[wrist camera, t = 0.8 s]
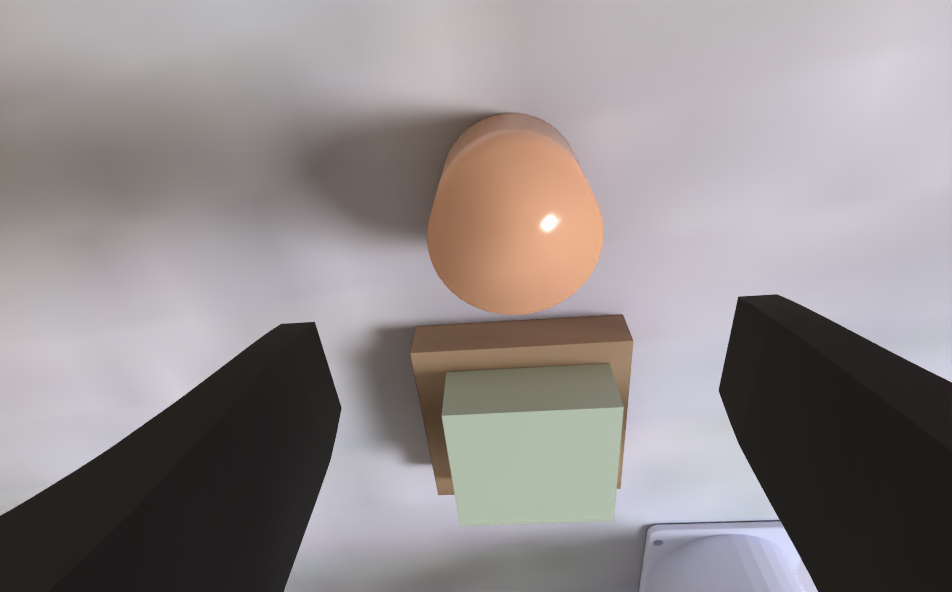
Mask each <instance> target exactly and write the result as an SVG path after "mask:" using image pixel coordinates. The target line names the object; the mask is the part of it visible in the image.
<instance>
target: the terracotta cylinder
mask: <svg viewBox="0 0 952 592" xmlns="http://www.w3.org/2000/svg"><path fill="white" fill-rule="evenodd" d="M603 236H604V234H603V221H602V215H601V212H600V209H599V206H598V203H597V201H596V199H595V197H594V195H593V193H592V191H591V188H590V186H589V184H588V182H587V180H586V178H585V176H584V174H583V171H582V169H581V167H580V165H579V163H578V161H577V159H576V157H575V154H574V152H573V150H572V148H571V146H570V145H569V143H568V142H567V140H566V139H565V137H564V136H563V135H562V134H561V133H560V132H559V131H558V130H557V129H556V128H554V127H553V126H552V125H550V124H549V123H547V122H545V121H544V120H542V119H539V118H537V117H534V116H531V115H527V114H520V113H504V114H497V115H493V116H490V117H487V118H485V119H483V120H480V121H478V122H477V123H475V124H473V125H472V126H470V127H469V128H468V129H467V130H466V131H464V132H463V133H462V134H461V135H460V136H459V138H458V139H457V140H456V141H455V143H454V144H453V146H452V147H451V149H450V151H449V153H448V155H447V158H446V161H445V164H444V167H443V171H442V175H441V178H440V182H439V185H438V189H437V193H436V196H435V200H434V203H433V207H432V211H431V214H430V218H429V223H428V231H427V242H428V250H429V255H430V259H431V261H432V264H433V266H434V268H435V270H436V272H437V274H438V276H439V277H440V279H441V280H442V281H443V283H444V284H445V285H446V286H447V287H448V288H449V289H450V290H451V291H452V292H453V293H454V294H455V295H456V296H458V297H459V298H460V299H462V300H463V301H465V302H467V303H468V304H470V305H472V306H474V307H477V308H479V309H482V310H485V311H488V312H493V313H497V314H506V315H521V314H529V313H534V312H538V311H542V310H545V309H547V308H550V307H552V306H554V305H556V304H559V303H560V302H562V301H564V300H565V299H567V298H568V297H570V296H571V295H572V294H573V293H575V292H576V291H577V290H578V289H579V288H580V287H581V286H582V285H583V284H584V283H585V281H586V280H587V279H588V278H589V276H590V275H591V273H592V271H593V270H594V268H595V266H596V264H597V262H598V259H599V257H600V253H601V249H602V245H603Z"/></svg>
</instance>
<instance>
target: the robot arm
mask: <svg viewBox="0 0 952 592" xmlns="http://www.w3.org/2000/svg"><path fill="white" fill-rule="evenodd" d="M719 393H720V396H721V398H722V401H723V404H724V407H725V409H726V412H727V415H728V418H729V420H730V423H731V425H732V428H733V431H734V433H735V436H736V438H737V441H738V443H739V445H740V447H741V449H742V451H743V453H744V455H745V457H746V459H747V460H748V462H749V464H750V466H751V468H752V470H753V472H754V473H755V475H756V477H757V479H758V481H759V483H760V485H761V487H762V488H763V490H764V492H765V494H766V496H767V497H768V499H769V501H770V503H771V505H772V507H773V508H774V510H775V512H776V514H777V516H778V518H779V519H780V521H770V522H734V523H697V524H660V525H653V526H651V527H650V528H649V529H648V531H647V536H646V544H645V551H644V558H643V566H642V573H641V580H640V587H639V592H806V590H805V588H804V586H803V584H802V582H801V580H800V578H799V576H798V574H797V572H796V571H797V569H798V566H799V564H800V561H801V560H802V561H803V563H804V565H805V567H806V569H807V570H808V572H809V574H810V576H811V578H812V580H813V582H814V584H815V586H816V588H817V590H818V592H952V382H950V381H948V380H946V379H944V378H942V377H940V376H937V375H935V374H933V373H931V372H929V371H927V370H925V369H923V368H921V367H919V366H917V365H916V364H914V363H912V362H910V361H908V360H906V359H904V358H902V357H900V356H898V355H896V354H894V353H892V352H890V351H888V350H886V349H884V348H882V347H881V346H879V345H877V344H875V343H873V342H871V341H869V340H867V339H865V338H863V337H861V336H860V335H858V334H856V333H854V332H852V331H850V330H848V329H846V328H844V327H842V326H841V325H839V324H837V323H835V322H833V321H831V320H829V319H827V318H825V317H823V316H821V315H819V314H817V313H815V312H813V311H812V310H810V309H808V308H806V307H804V306H801V305H799V304H797V303H795V302H793V301H791V300H789V299H786V298H784V297H782V296H779V295H760V296H743V297H738V301H737V305H736V310H735V315H734V320H733V325H732V329H731V334H730V339H729V344H728V348H727V353H726V358H725V363H724V368H723V372H722V377H721V382H720V387H719ZM340 413H341V405H340V402H339V399H338V395H337V392H336V389H335V386H334V382H333V379H332V376H331V373H330V370H329V366H328V363H327V360H326V357H325V353H324V350H323V347H322V344H321V341H320V337H319V334H318V331H317V328H316V325H315V322H306V323H290V324H281V325H279V326H277V327H276V328H274V329H273V330H271V331H270V332H268V333H267V334H265V335H264V336H263V337H261V338H260V339H258V340H257V341H256V342H254V343H253V344H252V345H250V346H249V347H248V348H246V349H245V350H244V351H242V352H241V353H240V354H238V355H237V356H236V357H234V358H233V359H232V360H231V361H229V362H228V363H227V364H225V365H224V366H223V367H221V368H220V369H219V370H217V371H216V372H215V373H214V374H212V375H211V376H210V377H208V378H207V379H206V380H204V381H203V382H202V383H200V384H199V385H198V386H196V387H195V388H194V389H192V390H191V391H190V392H188V393H187V394H186V395H185V396H183V397H182V398H180V399H179V400H178V401H176V402H175V403H174V404H172V405H171V406H169V407H168V408H167V409H165V410H164V411H162V412H161V413H159V414H158V415H157V416H155V417H154V418H152V419H151V420H150V421H148V422H147V423H145V424H144V425H143V426H141V427H140V428H138V429H137V430H135V431H134V432H133V433H131V434H130V435H128V436H127V437H126V438H124V439H123V440H121V441H120V442H118V443H117V444H116V445H114V446H113V447H111V448H110V449H108V450H107V451H105V452H104V453H102V454H101V455H99V456H98V457H96V458H95V459H93V460H92V461H90V462H88V463H87V464H85V465H84V466H82V467H81V468H79V469H78V470H76V471H74V472H73V473H71V474H70V475H68V476H66V477H65V478H63V479H61V480H60V481H58V482H57V483H55V484H53V485H52V486H50V487H48V488H47V489H45V490H43V491H42V492H40V493H39V494H37V495H35V496H34V497H32V498H30V499H29V500H27V501H25V502H24V503H22V504H20V505H19V506H17V507H15V508H13V509H12V510H10V511H8V512H6V513H5V514H3V515H1V516H0V592H284V589H285V586H286V583H287V580H288V577H289V575H290V572H291V569H292V566H293V564H294V561H295V558H296V555H297V553H298V550H299V547H300V544H301V542H302V539H303V536H304V533H305V530H306V528H307V525H308V522H309V519H310V517H311V514H312V511H313V508H314V506H315V503H316V500H317V497H318V494H319V491H320V489H321V486H322V483H323V480H324V477H325V474H326V472H327V469H328V466H329V463H330V460H331V455H332V451H333V447H334V442H335V438H336V433H337V428H338V423H339V418H340Z"/></svg>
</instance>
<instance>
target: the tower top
mask: <svg viewBox="0 0 952 592" xmlns="http://www.w3.org/2000/svg"><path fill="white" fill-rule="evenodd" d="M623 410H624V406H623V403H622V400H621V397H620V394H619V391H618V387H617V384H616V381H615V378H614V375H613V372H612V369H611V365H610V363H606V364H587V365H568V366H550V367H531V368H512V369H493V370H474V371H455V372H446V380H445V389H444V399H443V408H442V421H443V427H444V433H445V439H446V445H447V451H448V457H449V463H450V469H451V475H452V481H453V487H454V493H455V499H456V505H457V511H458V517H459V523H460V526H478V525H508V524H538V523H568V522H598V521H614V512H615V501H616V490H617V478H618V467H619V456H620V444H621V433H622V421H623Z"/></svg>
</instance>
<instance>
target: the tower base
mask: <svg viewBox="0 0 952 592" xmlns="http://www.w3.org/2000/svg"><path fill="white" fill-rule="evenodd" d="M632 350H633V339H632V336H631V334H630V331H629V329H628V326H627V324H626V321H625V319H624V316H623V315H605V316H588V317H570V318H553V319H535V320H518V321H500V322H482V323H465V324H447V325H430V326H416V329H415V334H414V338H413V343H412V347H411V352H410V355H411V360H412V365H413V370H414V375H415V380H416V385H417V390H418V395H419V400H420V405H421V410H422V415H423V420H424V425H425V430H426V435H427V440H428V445H429V450H430V455H431V460H432V466H433V471H434V476H435V481H436V486H437V491H438V495H455V493H454V487H453V481H452V475H451V469H450V463H449V457H448V451H447V445H446V439H445V433H444V427H443V421H442V408H443V399H444V389H445V380H446V372H455V371H474V370H493V369H512V368H531V367H550V366H568V365H587V364H606V363H610V365H611V369H612V372H613V375H614V378H615V381H616V384H617V387H618V391H619V394H620V397H621V400H622V403H623V406H624V410H623V421H622V433H621V444H620V456H619V467H618V478H617V489H620V487H621V475H622V464H623V453H624V441H625V430H626V418H627V407H628V396H629V384H630V373H631V361H632Z"/></svg>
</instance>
